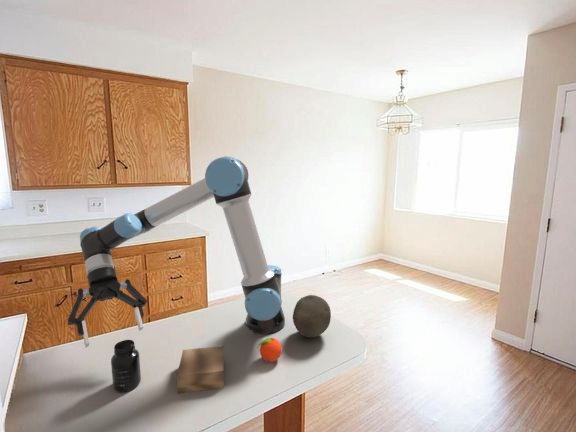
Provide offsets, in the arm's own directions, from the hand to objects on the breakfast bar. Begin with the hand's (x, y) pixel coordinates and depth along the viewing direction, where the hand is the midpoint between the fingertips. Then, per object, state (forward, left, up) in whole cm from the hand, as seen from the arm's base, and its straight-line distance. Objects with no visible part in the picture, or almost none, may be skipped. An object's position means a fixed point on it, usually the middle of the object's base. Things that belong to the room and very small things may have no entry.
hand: (115, 336), depth 86 cm
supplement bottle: (-4, +5, -12) cm, 13 cm away
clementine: (-44, +1, -12) cm, 45 cm away
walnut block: (-24, +5, -11) cm, 27 cm away
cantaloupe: (-61, -10, -12) cm, 63 cm away
